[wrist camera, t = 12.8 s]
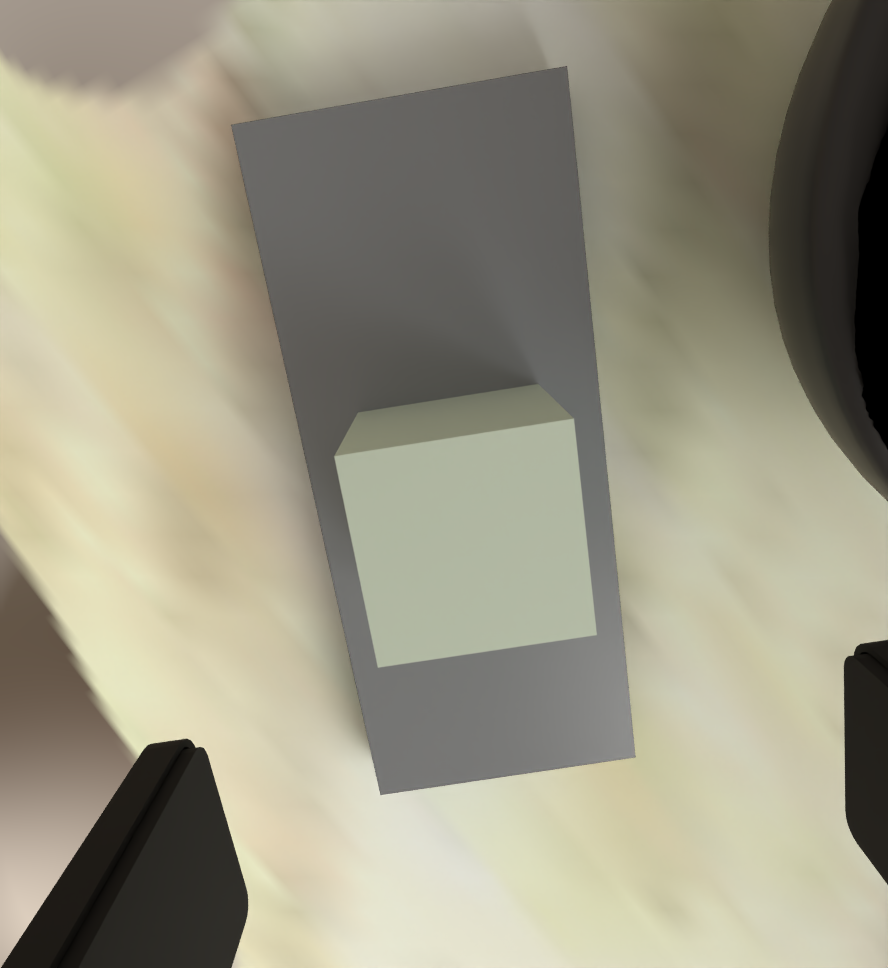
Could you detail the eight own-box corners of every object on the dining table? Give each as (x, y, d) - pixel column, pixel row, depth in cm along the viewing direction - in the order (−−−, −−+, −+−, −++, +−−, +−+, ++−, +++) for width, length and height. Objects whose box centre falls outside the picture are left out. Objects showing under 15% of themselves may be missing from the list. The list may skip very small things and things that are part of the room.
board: (555, 84, 22) (567, 65, 21) (621, 725, 29) (635, 757, 27) (248, 138, 23) (231, 124, 21) (383, 761, 29) (380, 794, 27)
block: (538, 383, 23) (573, 418, 17) (558, 552, 25) (596, 635, 19) (358, 412, 23) (334, 456, 17) (390, 577, 25) (377, 667, 19)
